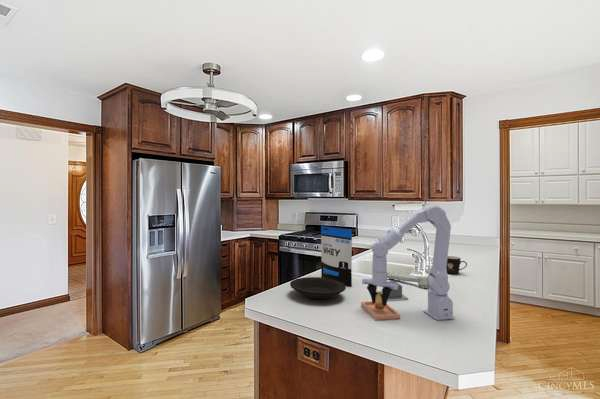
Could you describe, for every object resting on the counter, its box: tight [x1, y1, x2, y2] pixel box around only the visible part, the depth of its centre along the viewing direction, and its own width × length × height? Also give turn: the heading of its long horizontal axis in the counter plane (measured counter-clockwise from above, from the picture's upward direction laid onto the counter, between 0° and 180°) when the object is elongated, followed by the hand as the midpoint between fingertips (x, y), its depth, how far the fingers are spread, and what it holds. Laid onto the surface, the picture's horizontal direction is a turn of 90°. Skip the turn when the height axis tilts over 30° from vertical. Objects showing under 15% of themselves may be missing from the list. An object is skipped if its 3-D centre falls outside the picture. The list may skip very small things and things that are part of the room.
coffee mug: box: [446, 255, 468, 276], centre depth 187 cm, size 12×9×10 cm
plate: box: [289, 276, 346, 301], centre depth 148 cm, size 28×24×6 cm
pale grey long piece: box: [387, 272, 429, 290], centre depth 168 cm, size 5×7×25 cm
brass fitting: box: [375, 291, 385, 309], centre depth 128 cm, size 4×4×6 cm
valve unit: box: [376, 280, 409, 302], centre depth 148 cm, size 12×10×6 cm
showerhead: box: [424, 266, 432, 275], centre depth 172 cm, size 9×7×10 cm
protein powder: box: [320, 226, 353, 288], centre depth 172 cm, size 10×24×30 cm, turn 37°
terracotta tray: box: [360, 300, 401, 321], centre depth 128 cm, size 16×10×2 cm, turn 9°
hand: (379, 304), depth 128 cm, fingers closed on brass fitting, 4 cm apart
